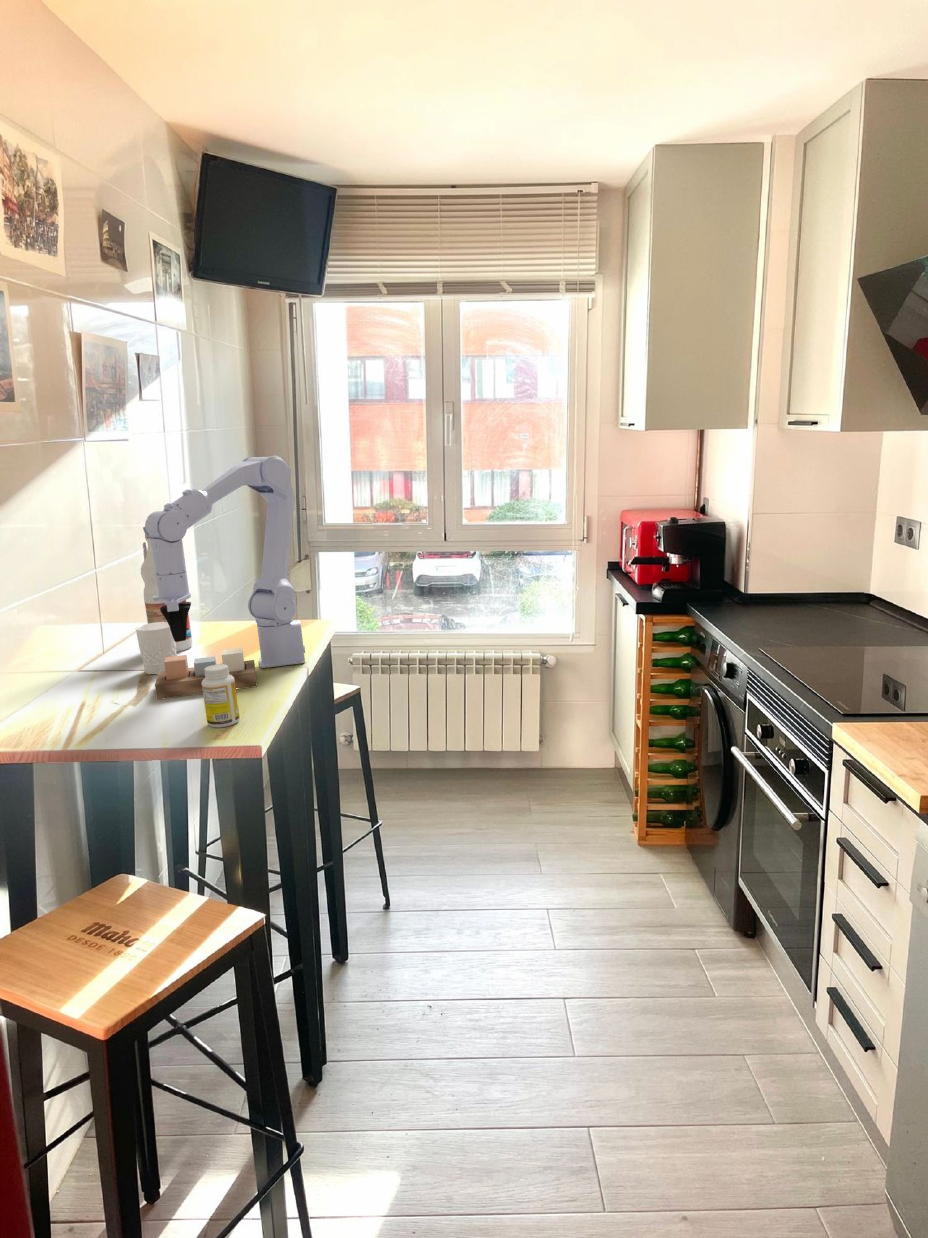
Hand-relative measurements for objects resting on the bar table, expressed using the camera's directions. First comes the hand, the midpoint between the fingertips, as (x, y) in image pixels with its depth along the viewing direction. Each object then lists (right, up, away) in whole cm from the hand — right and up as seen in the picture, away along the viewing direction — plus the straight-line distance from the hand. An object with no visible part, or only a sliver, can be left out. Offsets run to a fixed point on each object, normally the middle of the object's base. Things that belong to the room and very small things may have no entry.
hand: (180, 640), depth 181 cm
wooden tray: (+5, -9, +3) cm, 11 cm away
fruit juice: (-13, -3, +37) cm, 40 cm away
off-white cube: (+10, -6, +4) cm, 12 cm away
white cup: (-10, -7, +18) cm, 22 cm away
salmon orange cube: (-1, -8, +1) cm, 8 cm away
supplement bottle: (+14, -14, -21) cm, 29 cm away
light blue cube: (+5, -8, +3) cm, 10 cm away
